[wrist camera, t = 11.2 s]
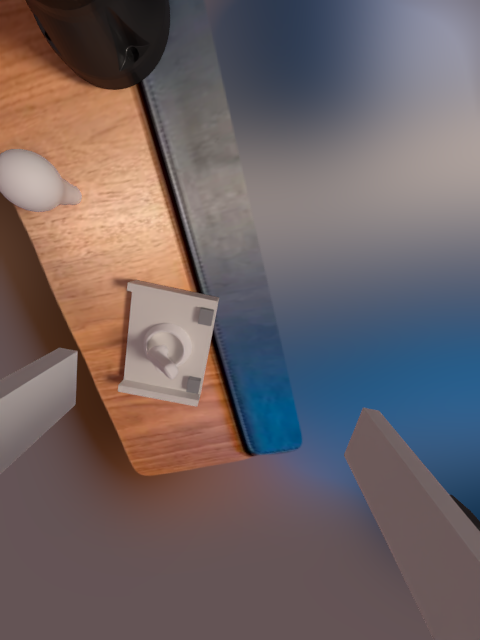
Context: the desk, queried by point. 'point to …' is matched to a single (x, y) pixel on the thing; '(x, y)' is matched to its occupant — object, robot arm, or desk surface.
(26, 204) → the lightbulb
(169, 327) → the hook
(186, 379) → the panel
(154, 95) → the desk surface
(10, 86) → the desk surface
